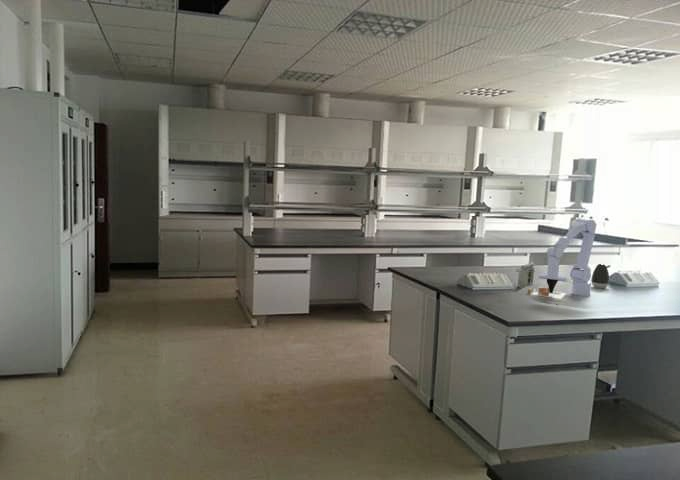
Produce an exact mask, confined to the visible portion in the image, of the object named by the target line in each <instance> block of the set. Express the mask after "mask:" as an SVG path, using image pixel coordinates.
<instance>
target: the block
mask: <svg viewBox="0 0 680 480" xmlns="http://www.w3.org/2000/svg"><path fill="white" fill-rule="evenodd" d="M537 292H538V295H544V296H543V297H545V296H548V295H549V293H550V292H549V286H543V285H540V286H539V287H538V290H537Z"/></svg>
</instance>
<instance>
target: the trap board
mask: <svg viewBox="0 0 680 480" xmlns="http://www.w3.org/2000/svg"><path fill="white" fill-rule="evenodd" d="M536 290H537V291H536ZM557 293H558V294H557ZM526 294H527V295H532V296H538V297H539V296H540V297H545V298H554V299H559V300H561V299H562V298H563V297H565V295H566V294H567V293H566V292H561V291H560V292H558V291H555V293H550V291H549V295H548V296H544V295H538V289H536V288H534V287H529V288H528V289H527V293H526Z"/></svg>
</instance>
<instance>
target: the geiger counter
mask: <svg viewBox="0 0 680 480" xmlns="http://www.w3.org/2000/svg"><path fill="white" fill-rule="evenodd" d="M534 266H535V263H534V262H533V261H531V262H529V263H527V264H524V265H521V266H520V268H518V269H516V271H515V272H517V273H518V281H517V282H518V283H517V288H518V287H519V288H518V289H522V288H523V289H524V288H526V287H529V286H532V285H533V284H534V274H535V273H534V272H535V267H534Z"/></svg>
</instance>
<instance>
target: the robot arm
mask: <svg viewBox="0 0 680 480" xmlns="http://www.w3.org/2000/svg"><path fill="white" fill-rule="evenodd" d="M596 230H597V223H596V221H595V220H594V219H589V218H581V217H578V218H576V220H574V222H573V225H572V227H571V228H570V229H569V230H568V232H567V233H566V234H565V235H564V236H561V237H559V238H558V240H557V241H556V242H555V243H554V244H553V245H552V246H550V247H548V249H547V250H546V255H547V272H546V275H545V274H538V275H537V276H538V277H537V279H539V280H546V283H547V284H546V285H547V287H549V291H550V292H549V293H550V294H554V290H555V287H556V286H557V283H558V282H564V283H567V281H568V279H567V277H563V276H559V271H560V270H559V269H560V259H561V258H562V256H563V255H564V251H565V250H566V249H567V247H568V246H569V245H570V244H571V242H570V241H571V240H572V239H574V237H576V236H577V235H578V234H579V233H581V235H582V236H583V238H582V242H581V246H580V250H579V255H578V259H577V262H576V264H574V265H572V269H571V270H570V274H569V275H570V278H571V280H572V288H571V294H573V295H576V296H583V297H589V296H591V286H592V282H590V281H591V278H592V274H591V271H592V269H591V267H590V266H589V261H590V257H591V253H592V250H593V243H594V241H595V235H596Z"/></svg>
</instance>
